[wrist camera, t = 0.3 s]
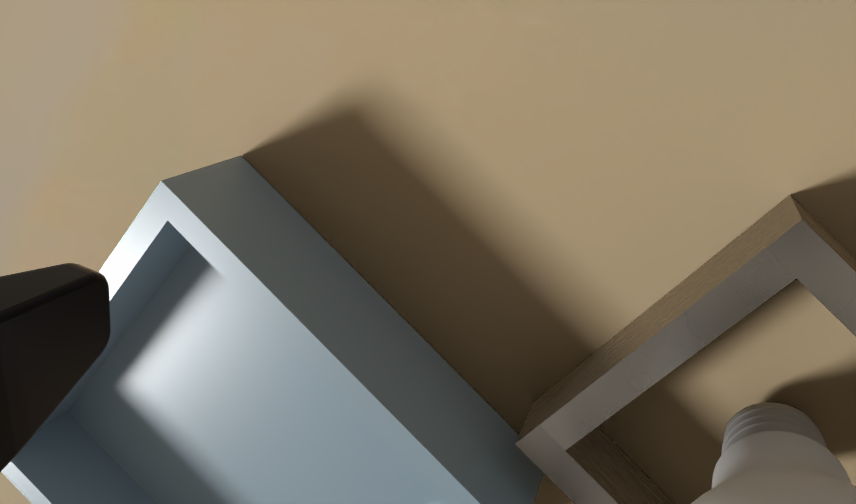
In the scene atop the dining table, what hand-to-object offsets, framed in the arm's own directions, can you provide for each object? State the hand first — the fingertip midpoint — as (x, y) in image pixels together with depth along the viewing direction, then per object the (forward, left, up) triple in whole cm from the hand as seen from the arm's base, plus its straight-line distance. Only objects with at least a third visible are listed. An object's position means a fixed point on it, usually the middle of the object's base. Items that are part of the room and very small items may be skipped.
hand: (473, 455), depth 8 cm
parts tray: (-15, +2, -14) cm, 21 cm away
